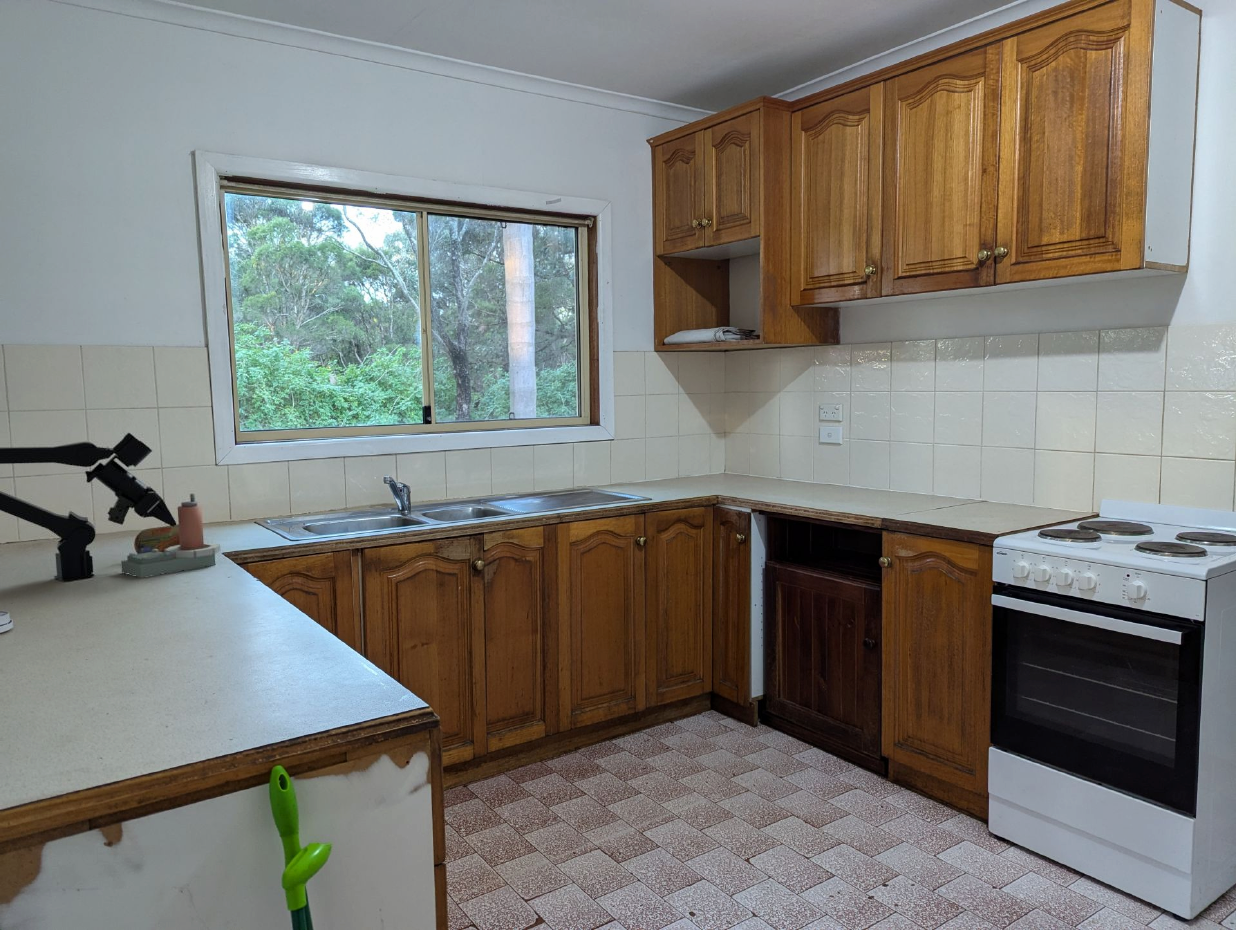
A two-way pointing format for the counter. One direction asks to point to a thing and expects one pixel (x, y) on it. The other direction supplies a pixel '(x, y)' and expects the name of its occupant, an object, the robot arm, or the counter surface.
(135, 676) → the counter surface
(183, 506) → the oil can
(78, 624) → the counter surface
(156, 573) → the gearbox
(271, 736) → the counter surface
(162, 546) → the tin
